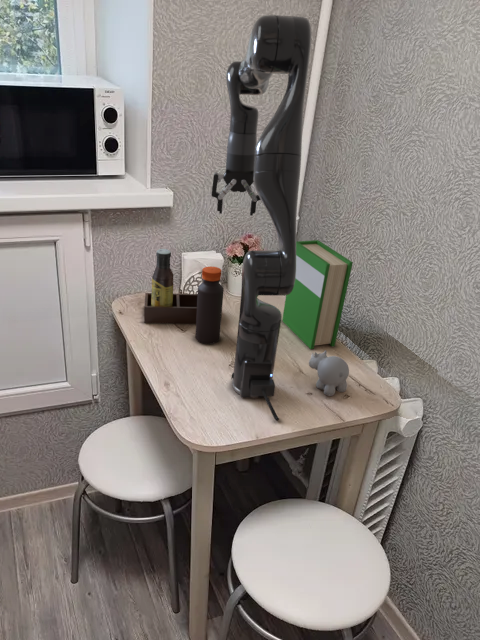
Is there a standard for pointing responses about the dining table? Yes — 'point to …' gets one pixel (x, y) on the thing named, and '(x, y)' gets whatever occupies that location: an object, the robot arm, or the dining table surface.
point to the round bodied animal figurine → (330, 372)
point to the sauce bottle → (162, 280)
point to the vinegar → (209, 306)
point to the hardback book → (317, 293)
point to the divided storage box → (172, 310)
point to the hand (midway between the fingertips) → (235, 213)
